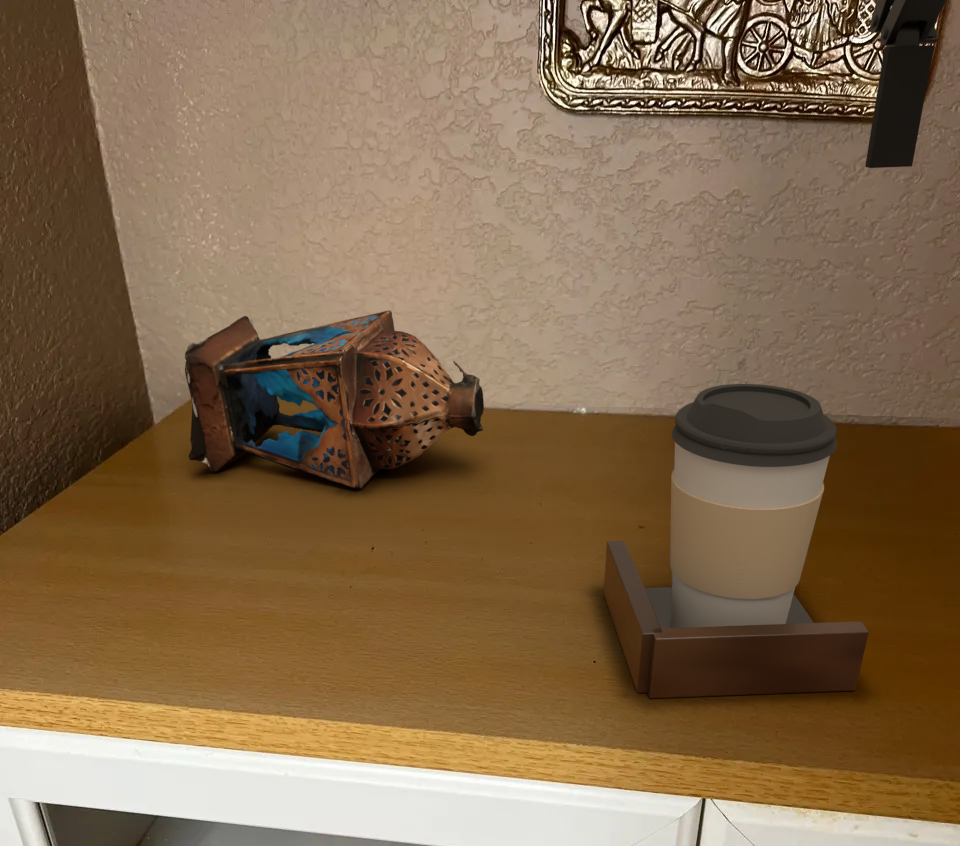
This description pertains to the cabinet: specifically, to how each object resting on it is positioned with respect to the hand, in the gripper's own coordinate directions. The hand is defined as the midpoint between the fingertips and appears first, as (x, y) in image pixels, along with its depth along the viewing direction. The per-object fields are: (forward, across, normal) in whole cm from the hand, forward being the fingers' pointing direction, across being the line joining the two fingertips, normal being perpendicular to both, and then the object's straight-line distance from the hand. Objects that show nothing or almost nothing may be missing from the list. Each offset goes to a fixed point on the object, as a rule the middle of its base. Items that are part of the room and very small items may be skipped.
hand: (938, 180), depth 56 cm
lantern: (+25, -24, -38) cm, 51 cm away
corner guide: (+25, +8, -12) cm, 29 cm away
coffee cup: (+25, +8, -12) cm, 28 cm away
